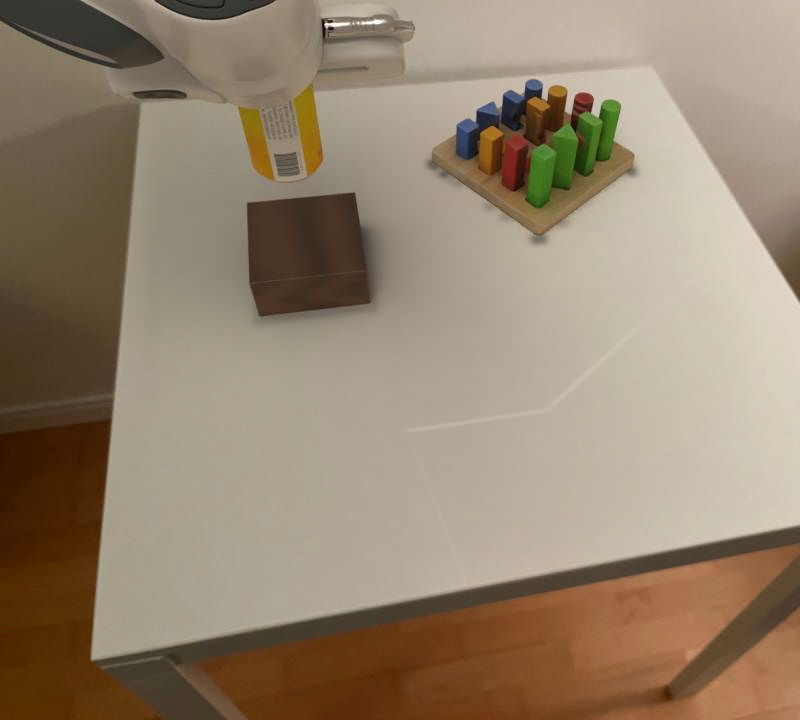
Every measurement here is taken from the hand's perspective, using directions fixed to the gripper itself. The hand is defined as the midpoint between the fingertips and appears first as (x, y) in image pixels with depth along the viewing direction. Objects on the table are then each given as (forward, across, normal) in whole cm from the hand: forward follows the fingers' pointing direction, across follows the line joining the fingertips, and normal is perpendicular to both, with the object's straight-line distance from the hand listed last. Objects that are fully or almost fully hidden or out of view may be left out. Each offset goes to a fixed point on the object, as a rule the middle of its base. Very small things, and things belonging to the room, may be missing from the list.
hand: (271, 76), depth 58 cm
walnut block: (+16, 0, +16) cm, 23 cm away
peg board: (+25, -27, +7) cm, 38 cm away
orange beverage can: (+6, 0, +6) cm, 9 cm away
